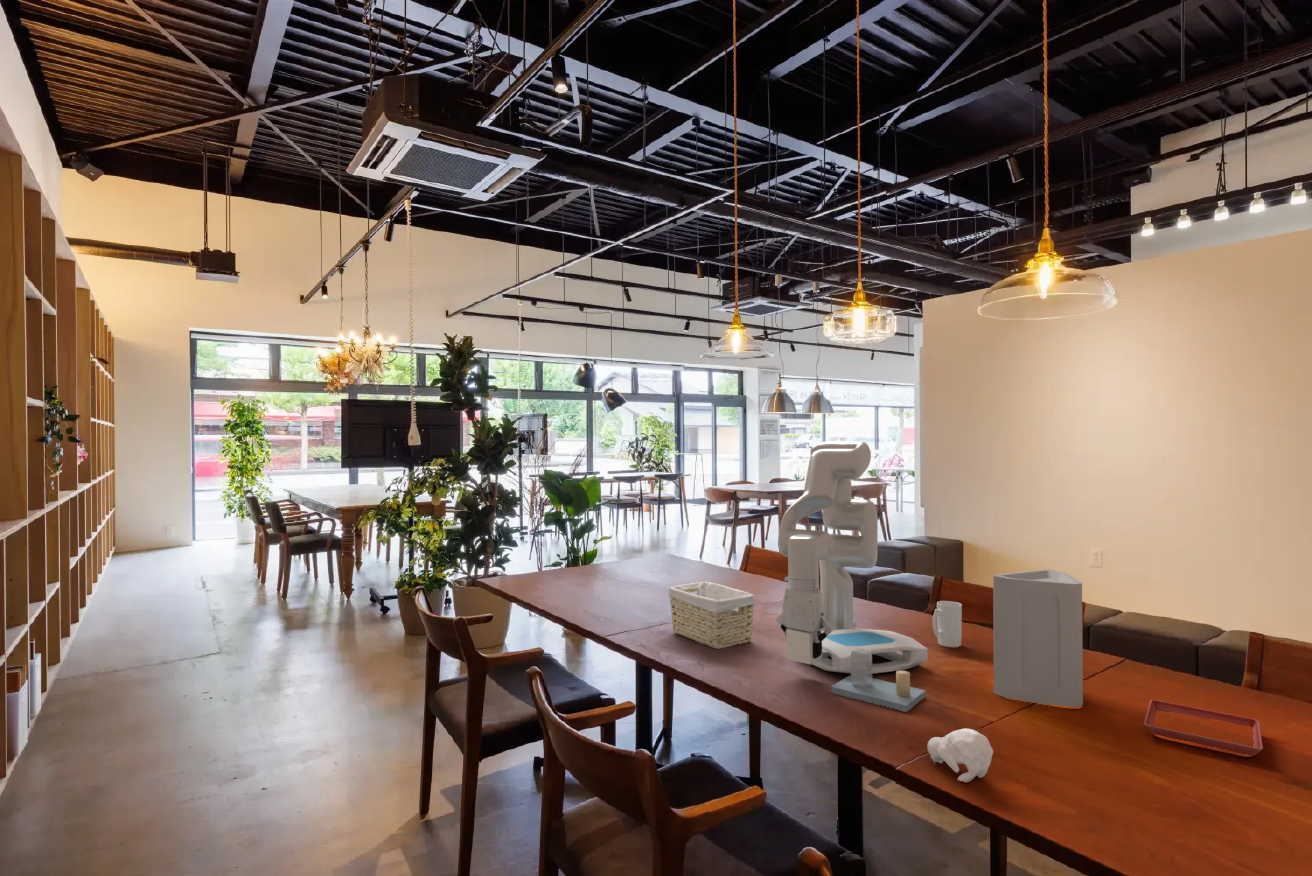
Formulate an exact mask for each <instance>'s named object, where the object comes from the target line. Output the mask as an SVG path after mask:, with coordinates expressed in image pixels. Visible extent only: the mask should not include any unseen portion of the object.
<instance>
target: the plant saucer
mask: <svg viewBox="0 0 1312 876" xmlns="http://www.w3.org/2000/svg"><path fill="white" fill-rule="evenodd" d="M1157 710H1159V711H1164V712H1175V713H1181V714H1186V715H1191V716H1196V717H1201V718H1205V719H1215V720H1221V721H1226V722H1230V723H1234V724H1238V725H1243V726H1250V727H1252V728H1253V733H1254V735H1253V740H1254V744H1253V747H1251V746H1247V745H1242V744H1237V743H1233V742H1228V741H1223V740H1218V739H1214V738H1209V737H1204V736H1199V735H1194V734H1189V733H1184V732H1180V731H1175V730H1170V729H1166V728H1161V727H1156V726H1154V719H1155V715H1156V712H1157ZM1143 724H1144V727H1146V729H1147V730H1148V731H1149V732H1150V733H1151V735H1153V734H1156V735H1161V736H1165V737H1169V738H1173V739H1178V740H1184V741H1190V742H1194V743H1198V744H1202V745H1207V746H1210V747H1217V748H1221V749H1226V750H1230V751H1233V752H1237V753H1242V754H1248V755H1254V756H1256V755H1258V754H1259V753H1260V752H1261V751H1263V749H1264V747H1263V742H1262V735H1261V725H1260V721H1259V720H1258V719H1256V718H1251V717H1245V716H1240V715H1235V714H1230V713H1224V712H1219V711H1214V710H1209V709H1204V708H1198V707H1194V706H1188V705H1184V704H1178V703H1173V702H1168V701H1162V700H1156V699H1150V701H1149V705H1148V708H1147V711H1146V715H1145V718H1144V721H1143Z"/></svg>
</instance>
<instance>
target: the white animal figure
mask: <svg viewBox="0 0 1312 876" xmlns="http://www.w3.org/2000/svg"><path fill="white" fill-rule="evenodd" d="M926 746H927V747H926V748H927V752H928V754H929V755H930V758H931V760H932V762H933V763H934V765H936V763H939V764H943V763H944V762H945V763H946V764H947V765H948V767H950V769H951V770H953V772H955V773H959V771H960V767H959V764H960V765H962V764H963V765H964V766H966V768H967V770H968V771H967V772H964V773H962V774H960V775H958V777H957V781H958V780H960V781H964V783H969V782H971V781H972V780H974V779H975V777H976V776H977V778H979V779H982V778H983V777H985V775H986V774H987V773H988V770H989V767H990V766H991V762H992V757H993V755H994V749H993V748H992V746H991V744H990V741H989V739H988V737H986V736H985V735H984V734H981V733H980V732H978V731H977V730H975V729H972V728H966V727H965V728H961V729H957V730H953V731H950V733H948V734H945V735H944V736H943V737H939V736H934V737H932V738H930V739H929V741H928V742H927V745H926Z"/></svg>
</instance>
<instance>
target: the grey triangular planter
mask: <svg viewBox="0 0 1312 876" xmlns="http://www.w3.org/2000/svg"><path fill="white" fill-rule="evenodd" d="M992 576H993V580H992V581H993V589H992V590H993V591H992V592H993V594H992V595H993V607H992V608H993V611H992V612H993V613H992V614H993V616H992V617H993V694H994V693H996V694H998V695H1000V696H999V697H1001V696H1003V697H1005V698H1004V699H1006V698H1012V699H1017V700H1023V701H1028V702H1034V703H1041V704H1047V705H1060V706H1067V707H1075V708H1076V707H1079V706H1082V705H1084V703H1083V702H1084V699H1083V698H1084V695H1083V694H1084V692H1083V691H1084V687H1083V683H1084V682H1083V681H1084V677H1083V671H1084V669H1083V667H1084V666H1083V582H1082V581H1080V580H1078V579H1076V578H1075V577H1073V576H1072V575H1070V574H1069V573H1067V572H1064V571H1059V570H1055V569H1054V570H1053V569H1035V570H1028V571H1027V570H1026V571H1017V572H1009V573H1001V574H1000V573H999V574H993V575H992ZM996 694H995V695H996ZM998 695H997V696H998ZM1003 697H1002V698H1003Z"/></svg>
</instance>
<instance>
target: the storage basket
mask: <svg viewBox="0 0 1312 876" xmlns="http://www.w3.org/2000/svg"><path fill="white" fill-rule="evenodd" d="M694 592H696V594H693V593H694ZM668 597H669V603H670V609H671V610H670V611H671V621H672V624H671V625H672V631H673V632H674V633H676V634H677V635H680V636H683V637H686V638H688V639H691V640H693V641H695V642H697V643H698V644H702V645H706V646H708V647H709V648H710V647H711V648H713V649H716V650H721V649H724V648H730V647H734V646H737V644H739V645H741V643H742V644H747V643H749V642H751V641H752V634H753V631H752V630H753V621H754V605H755V603H756V600H755V595H754V594H752V593H750V592H747V591H743V590H741V589H736V588H734V587H730V586H726V585H722V584H719V583H716V582H711V581H700V582H699V581H697V582H692V583H685V584H679V585H675V586H674V585H673V586H670V587H668ZM733 645H734V646H733Z"/></svg>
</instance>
